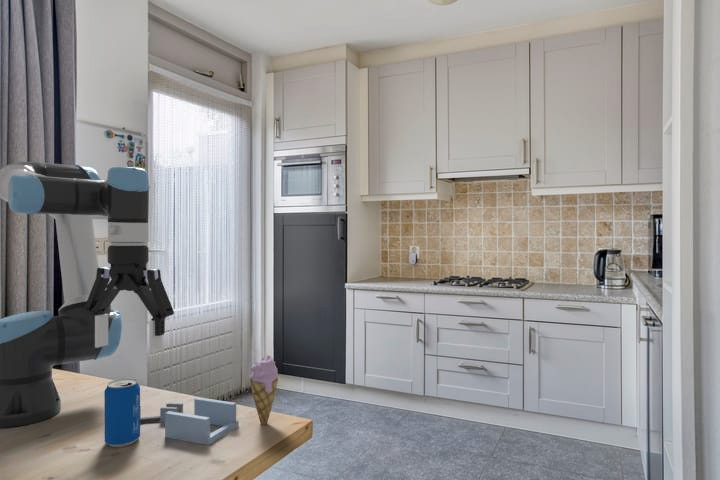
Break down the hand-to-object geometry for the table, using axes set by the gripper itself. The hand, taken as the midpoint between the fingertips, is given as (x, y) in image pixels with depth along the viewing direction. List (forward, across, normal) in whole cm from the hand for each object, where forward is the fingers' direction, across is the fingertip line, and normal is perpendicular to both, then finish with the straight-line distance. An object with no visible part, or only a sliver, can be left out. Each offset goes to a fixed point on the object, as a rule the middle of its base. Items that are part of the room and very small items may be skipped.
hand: (128, 349), depth 100 cm
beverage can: (+19, 0, -1) cm, 19 cm away
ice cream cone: (+19, +22, +16) cm, 33 cm away
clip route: (+19, -2, +9) cm, 21 cm away
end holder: (+19, +11, +8) cm, 23 cm away
